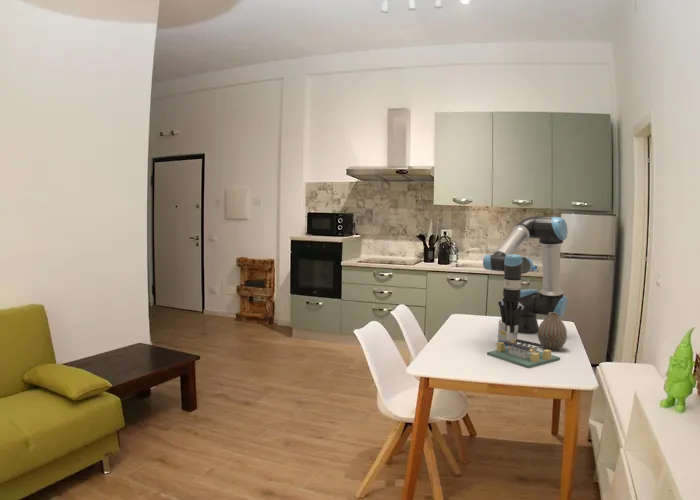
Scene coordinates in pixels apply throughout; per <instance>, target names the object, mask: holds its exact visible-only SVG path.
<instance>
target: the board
mask: <svg viewBox="0 0 700 500" xmlns="http://www.w3.org/2000/svg"><path fill="white" fill-rule="evenodd" d="M509 342H512V343H515V344H518V345H522V346H525V347H528V348H531V349H535V351H532V352H529V351H526V350H523V349H520V348H517V347H513V346H510V345H509V346H507V347H506V346H505V344H504V342H498V341H497V342H496V344H497V345H496V349H494V350H491V351H490V350H489V351H487V352H486V355H487V356H489V357H493V358H495V359H498V360H503V361H505V362H508V363H510V364H514V365H517V366H519V367H523V368H526V369H531V368H534V367H538V366H541V365H546V364H549V363H553V362H557V361H560V360H561V356H556V355H553V354H552V350H548V349H544V350H542V351H540V350H538V346H533V345H528V344H524V343H518V342H513V341H509Z"/></svg>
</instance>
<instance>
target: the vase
mask: <svg viewBox="0 0 700 500" xmlns="http://www.w3.org/2000/svg"><path fill="white" fill-rule="evenodd" d="M538 326H539V329H538V333H537V339H538V342H539V344H543V345H544V347H543V348H544V350H547V349H548V350H551V351H559V350H560V349H561V348H563V347H564V346H565V344H566V342H567V341H568V340H567V338H568V331H567V328H566V325H565V323H564V322H563V321H562V319H561V317H559V315H558V313H554V312H549V314H548V316H547V315H546V317H545V318H544V319H543V320H542V322H541V323H540V324H539V325H538Z"/></svg>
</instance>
